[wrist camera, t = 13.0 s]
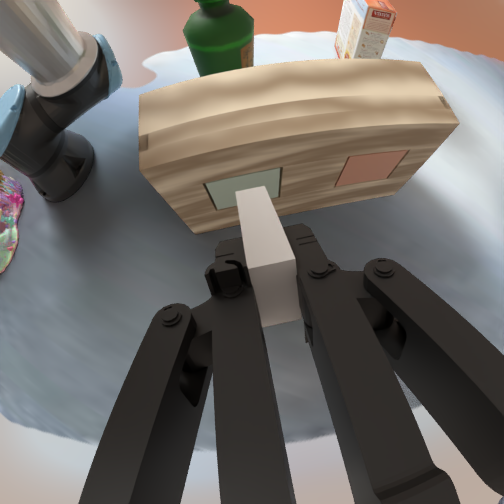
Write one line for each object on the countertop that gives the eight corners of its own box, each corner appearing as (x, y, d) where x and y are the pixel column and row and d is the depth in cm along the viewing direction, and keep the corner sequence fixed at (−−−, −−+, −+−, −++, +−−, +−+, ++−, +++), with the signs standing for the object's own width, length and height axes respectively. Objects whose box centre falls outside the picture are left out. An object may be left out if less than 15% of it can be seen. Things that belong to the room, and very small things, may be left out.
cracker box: (371, 86, 51) (399, 12, 30) (345, 83, 51) (366, 5, 30) (357, 48, 53) (375, -19, 33) (333, 45, 54) (346, -24, 33)
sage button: (278, 196, 38) (280, 168, 30) (217, 209, 38) (205, 183, 30) (272, 177, 38) (273, 145, 31) (214, 189, 38) (201, 160, 31)
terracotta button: (386, 178, 38) (407, 150, 30) (335, 186, 38) (349, 157, 30) (378, 160, 38) (398, 130, 30) (329, 167, 38) (341, 135, 30)
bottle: (270, 100, 50) (267, -27, 23) (225, 128, 50) (194, -3, 22) (236, 73, 53) (220, -40, 25) (194, 98, 52) (155, -17, 24)
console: (394, 194, 45) (459, 123, 24) (195, 234, 46) (139, 170, 24) (374, 145, 47) (420, 62, 26) (187, 179, 48) (139, 94, 26)
